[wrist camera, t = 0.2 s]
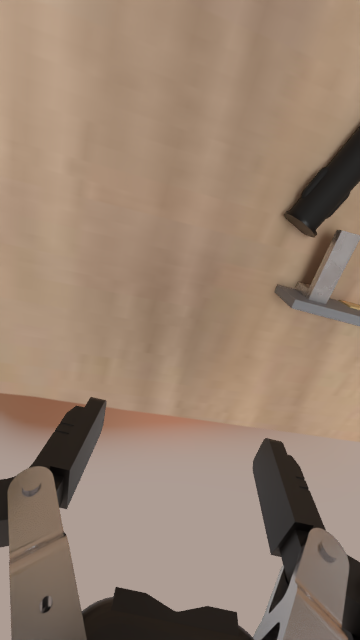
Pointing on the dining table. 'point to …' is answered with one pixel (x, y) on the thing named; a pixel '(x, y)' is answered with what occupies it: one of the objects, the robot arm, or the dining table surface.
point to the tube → (328, 189)
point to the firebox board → (321, 306)
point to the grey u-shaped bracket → (330, 267)
